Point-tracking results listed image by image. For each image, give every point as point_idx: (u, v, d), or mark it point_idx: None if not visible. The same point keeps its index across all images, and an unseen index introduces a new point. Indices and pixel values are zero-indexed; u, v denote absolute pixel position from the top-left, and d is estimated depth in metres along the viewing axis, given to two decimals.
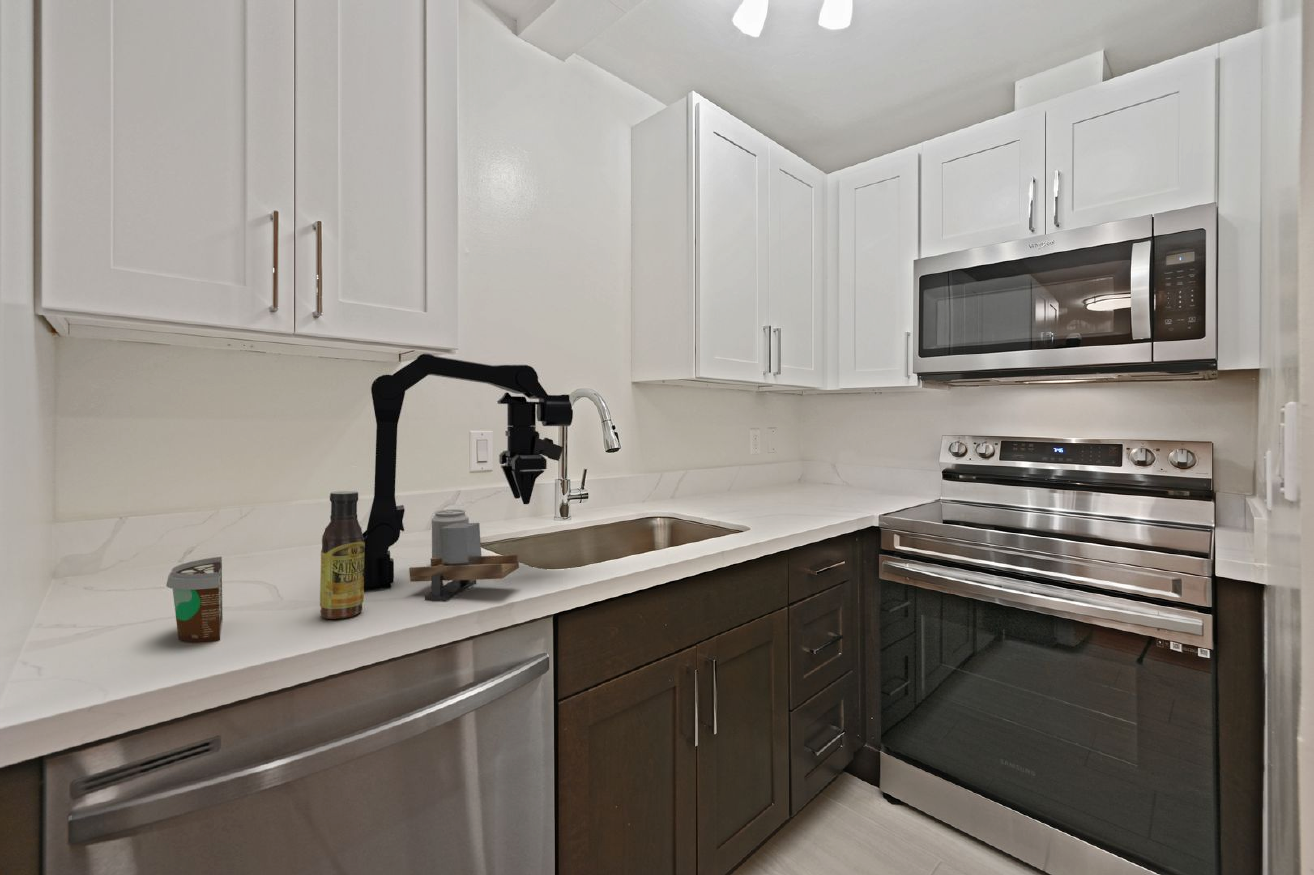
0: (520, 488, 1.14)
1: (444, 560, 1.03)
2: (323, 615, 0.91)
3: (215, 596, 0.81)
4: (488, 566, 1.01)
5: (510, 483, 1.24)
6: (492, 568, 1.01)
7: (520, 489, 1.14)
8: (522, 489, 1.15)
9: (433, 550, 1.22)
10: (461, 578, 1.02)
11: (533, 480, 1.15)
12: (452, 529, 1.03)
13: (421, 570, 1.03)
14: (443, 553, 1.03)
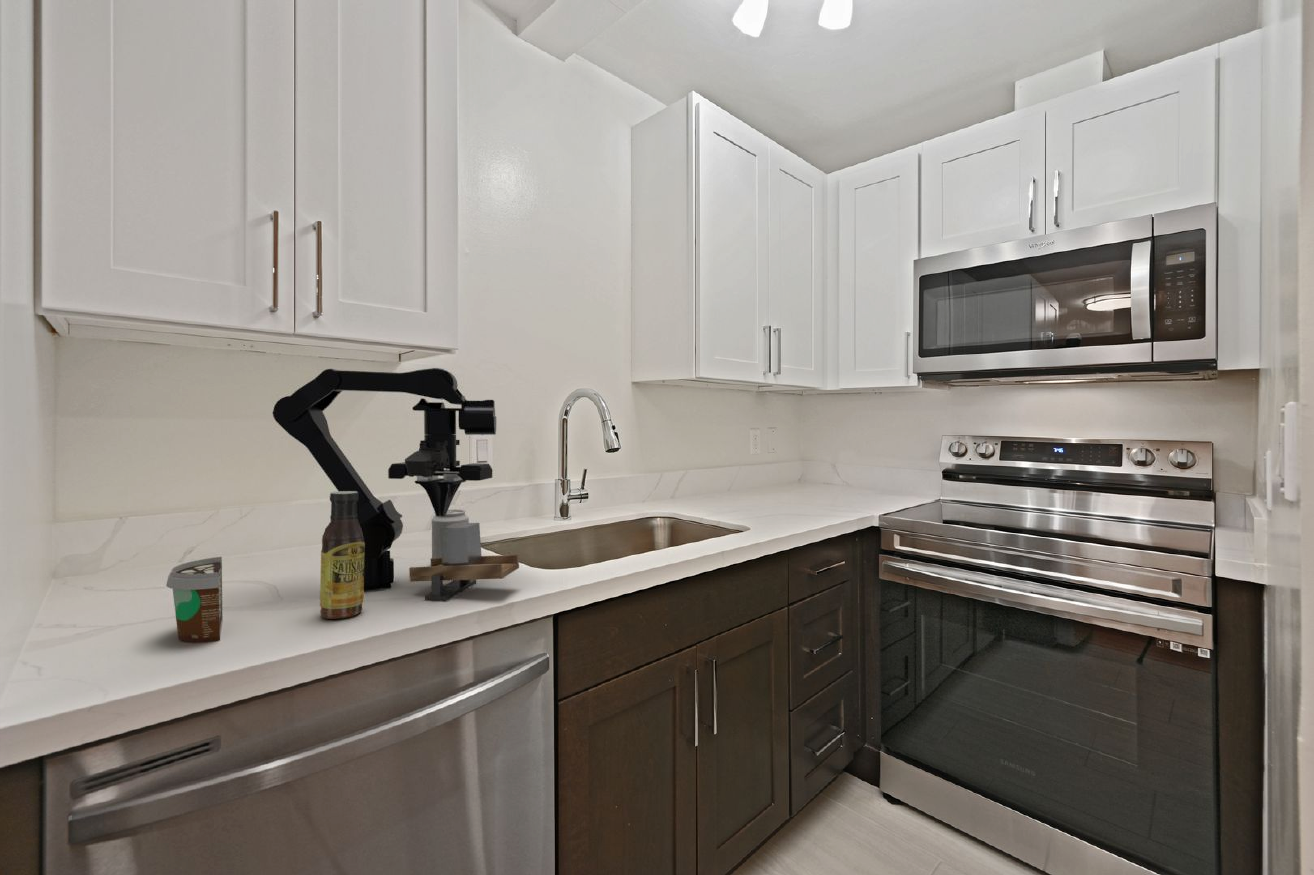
0: None
1: (444, 560, 1.03)
2: (323, 615, 0.91)
3: (215, 596, 0.81)
4: (488, 566, 1.01)
5: None
6: (492, 568, 1.01)
7: None
8: None
9: (433, 550, 1.22)
10: (461, 578, 1.02)
11: None
12: (452, 529, 1.03)
13: (421, 570, 1.03)
14: (443, 553, 1.03)
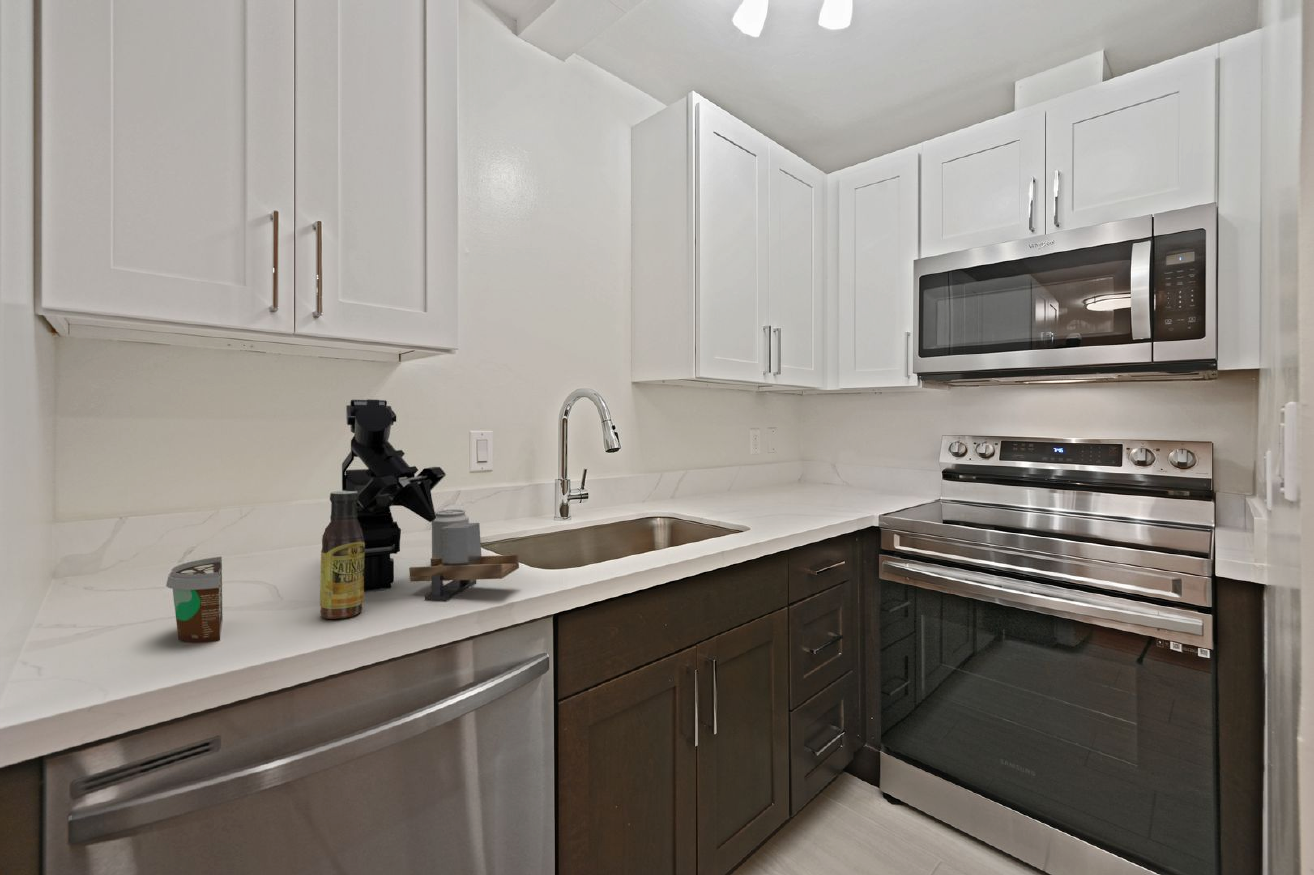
0: None
1: (444, 560, 1.03)
2: (323, 615, 0.91)
3: (215, 596, 0.81)
4: (488, 566, 1.01)
5: None
6: (492, 568, 1.01)
7: None
8: None
9: (433, 550, 1.22)
10: (461, 578, 1.02)
11: None
12: (452, 529, 1.03)
13: (421, 570, 1.03)
14: (443, 553, 1.03)
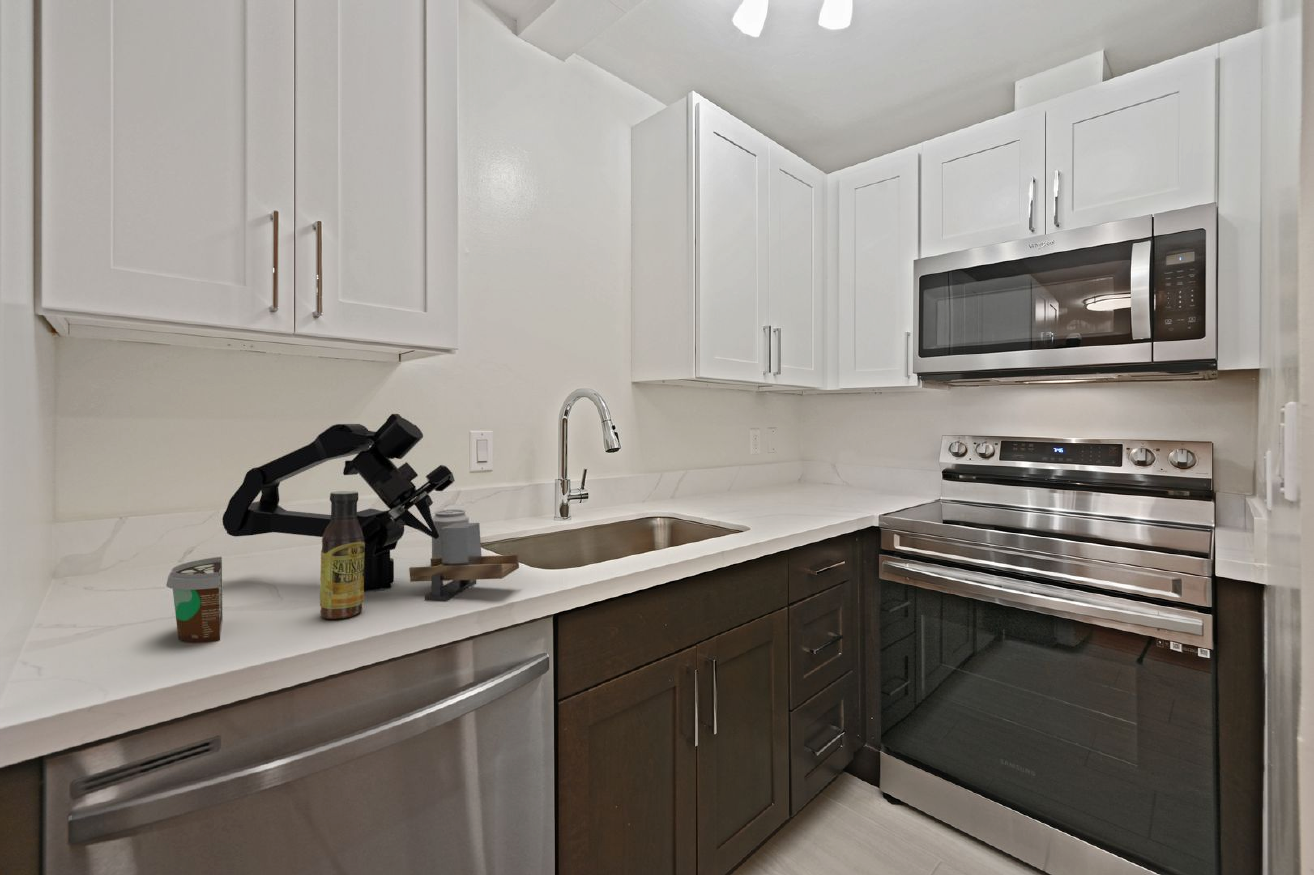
0: None
1: (444, 560, 1.03)
2: (323, 615, 0.91)
3: (215, 596, 0.81)
4: (488, 566, 1.01)
5: None
6: (492, 568, 1.01)
7: (421, 531, 1.07)
8: (421, 531, 1.07)
9: (433, 550, 1.22)
10: (461, 578, 1.02)
11: None
12: (452, 529, 1.03)
13: (421, 570, 1.03)
14: (443, 553, 1.03)
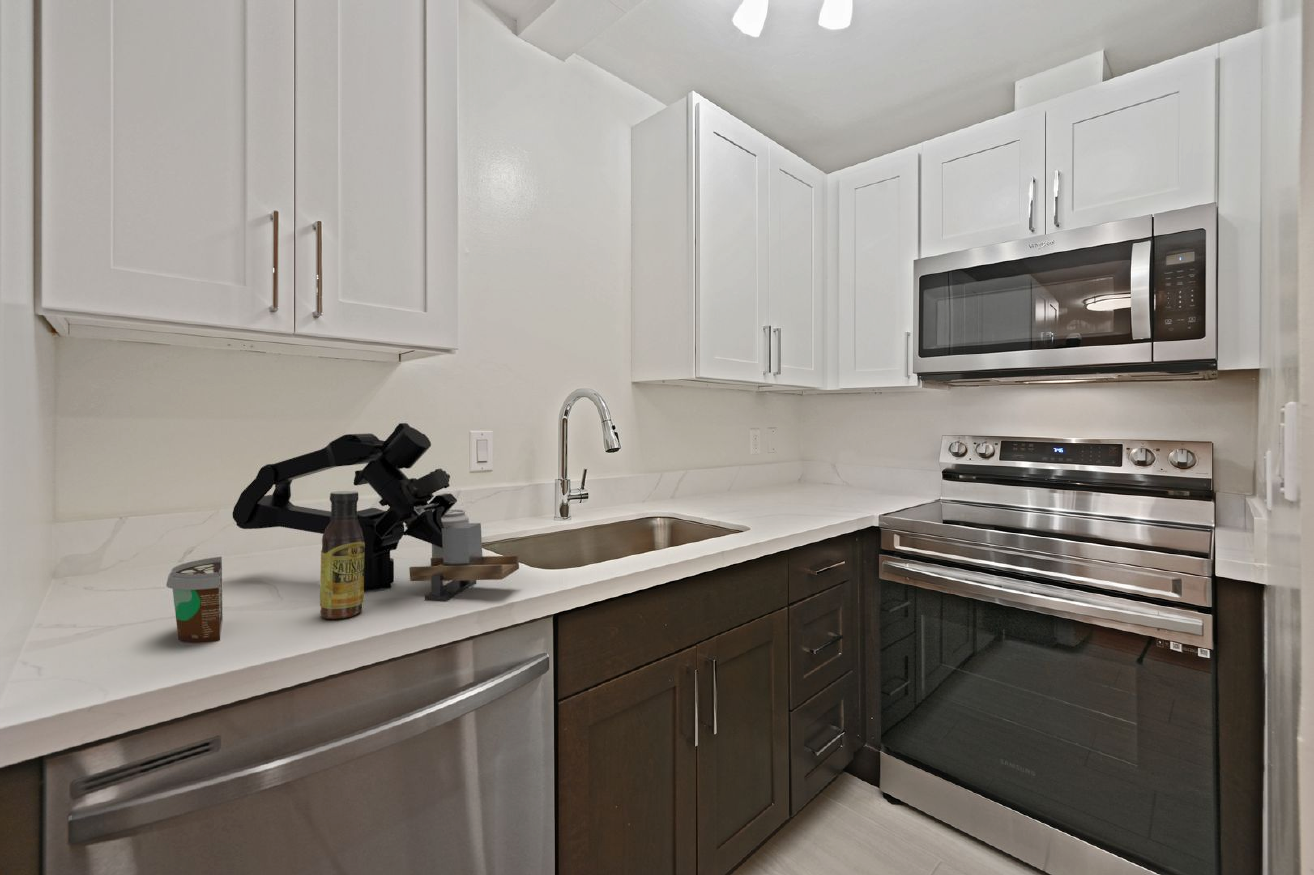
0: (427, 540, 1.05)
1: (445, 560, 1.03)
2: (323, 615, 0.91)
3: (215, 596, 0.81)
4: (488, 567, 1.01)
5: None
6: (492, 569, 1.01)
7: (428, 541, 1.05)
8: (430, 540, 1.05)
9: (433, 550, 1.22)
10: (461, 578, 1.02)
11: (428, 525, 1.04)
12: (453, 529, 1.03)
13: (421, 570, 1.03)
14: (444, 553, 1.03)
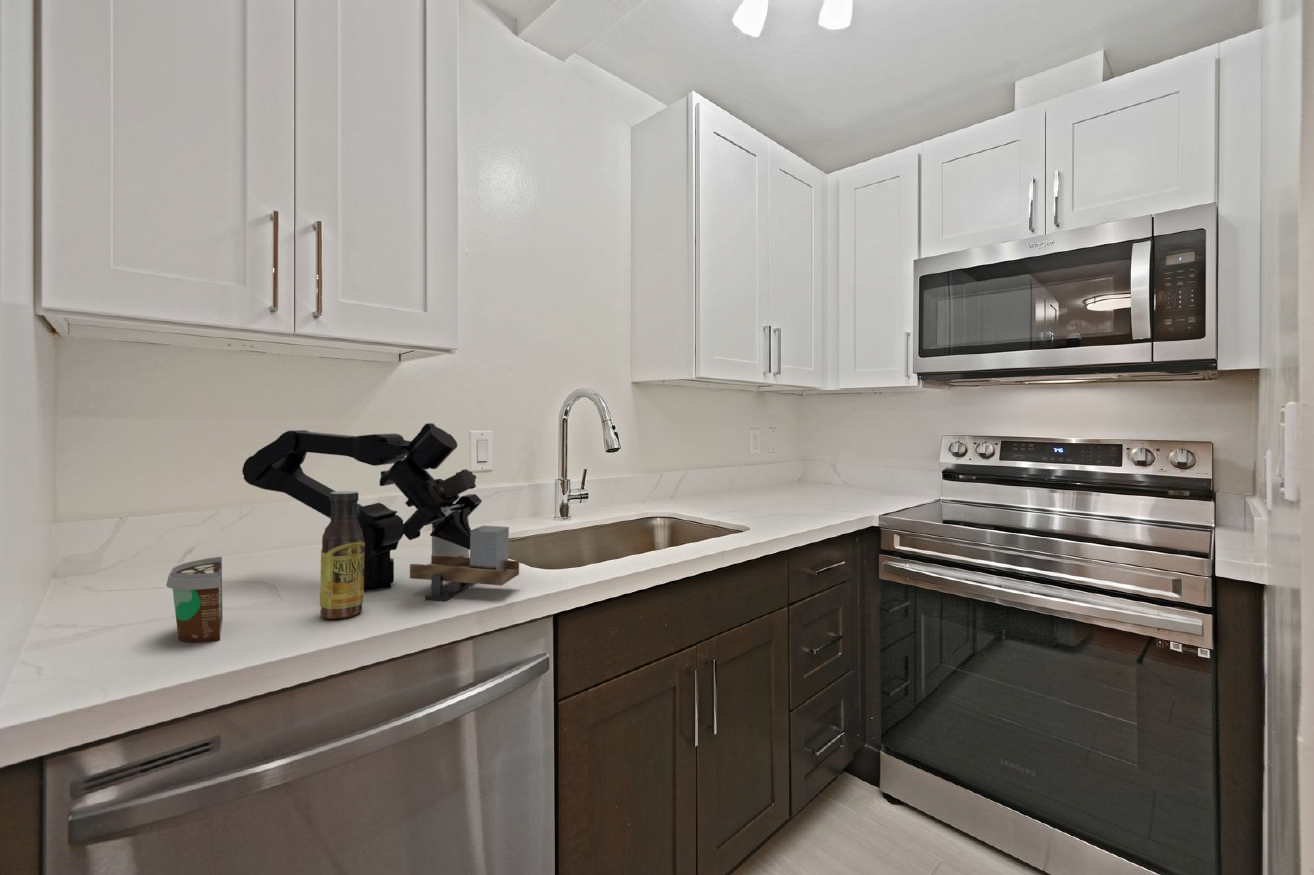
0: (454, 541, 1.04)
1: (472, 563, 1.03)
2: (323, 615, 0.91)
3: (215, 596, 0.81)
4: (489, 572, 1.01)
5: None
6: (493, 574, 1.01)
7: (455, 542, 1.04)
8: (456, 541, 1.04)
9: (433, 550, 1.22)
10: (461, 580, 1.02)
11: (455, 526, 1.03)
12: (482, 532, 1.02)
13: (422, 568, 1.03)
14: (471, 555, 1.03)
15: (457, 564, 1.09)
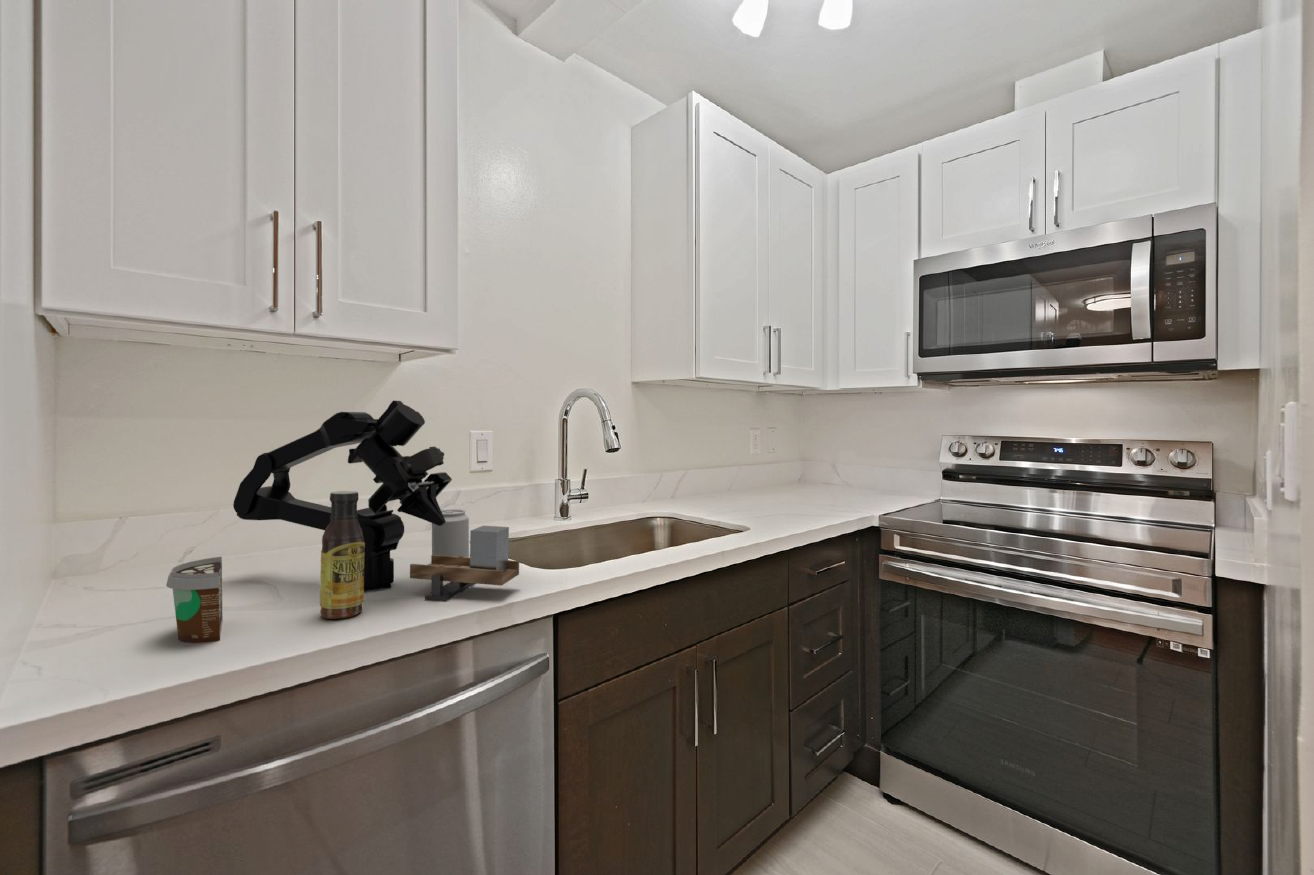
0: (421, 517, 1.05)
1: (472, 563, 1.03)
2: (323, 615, 0.91)
3: (215, 596, 0.81)
4: (489, 572, 1.01)
5: None
6: (493, 574, 1.01)
7: (422, 518, 1.05)
8: (424, 516, 1.05)
9: (433, 550, 1.22)
10: (461, 580, 1.02)
11: (423, 502, 1.04)
12: (482, 532, 1.02)
13: (422, 568, 1.03)
14: (471, 556, 1.03)
15: (457, 564, 1.09)
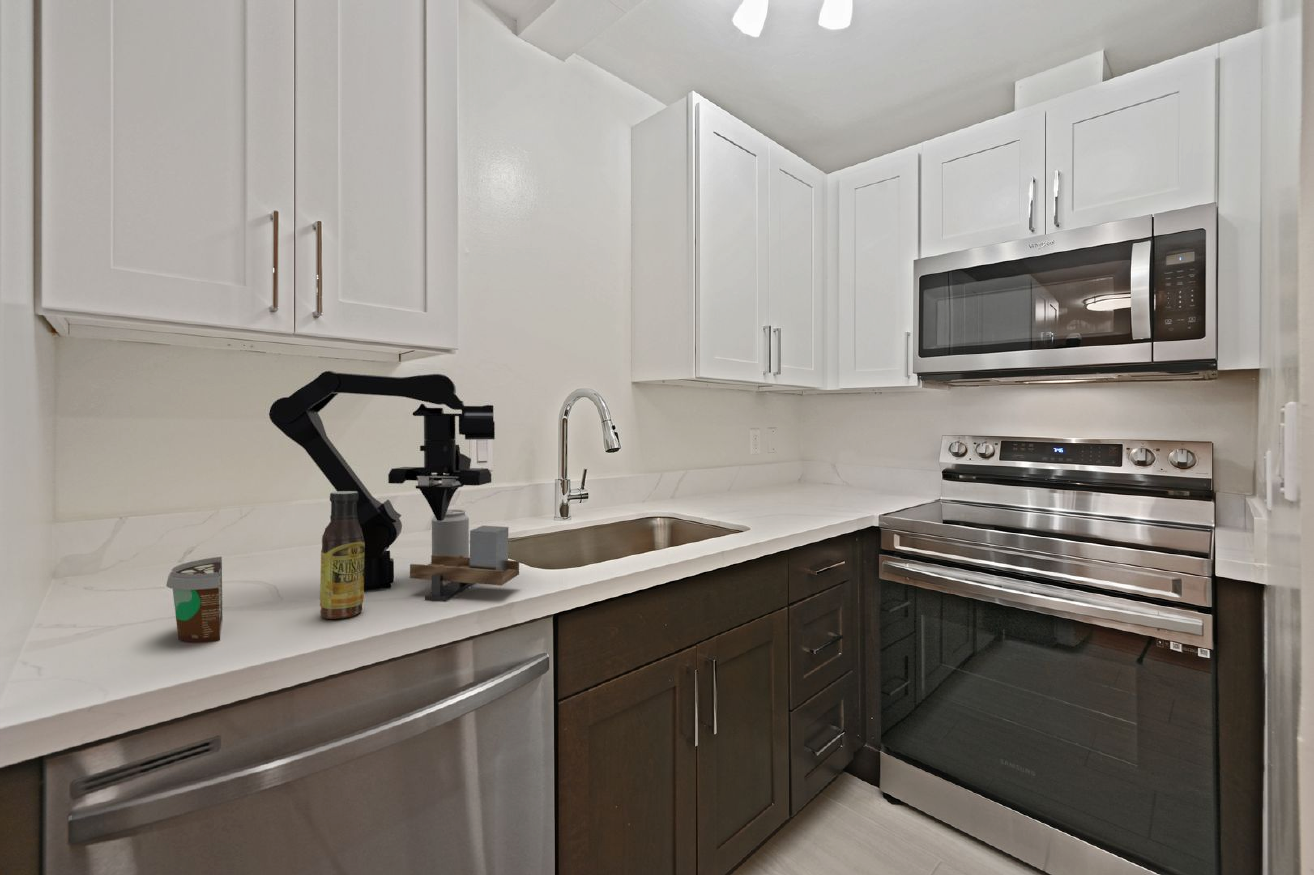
0: (443, 504, 1.10)
1: (472, 563, 1.03)
2: (323, 615, 0.91)
3: (215, 596, 0.81)
4: (489, 572, 1.01)
5: (435, 504, 1.10)
6: (493, 574, 1.01)
7: (442, 505, 1.10)
8: (443, 505, 1.10)
9: (433, 550, 1.22)
10: (461, 580, 1.02)
11: (452, 494, 1.12)
12: (482, 532, 1.02)
13: (422, 568, 1.03)
14: (471, 555, 1.03)
15: (457, 564, 1.09)
